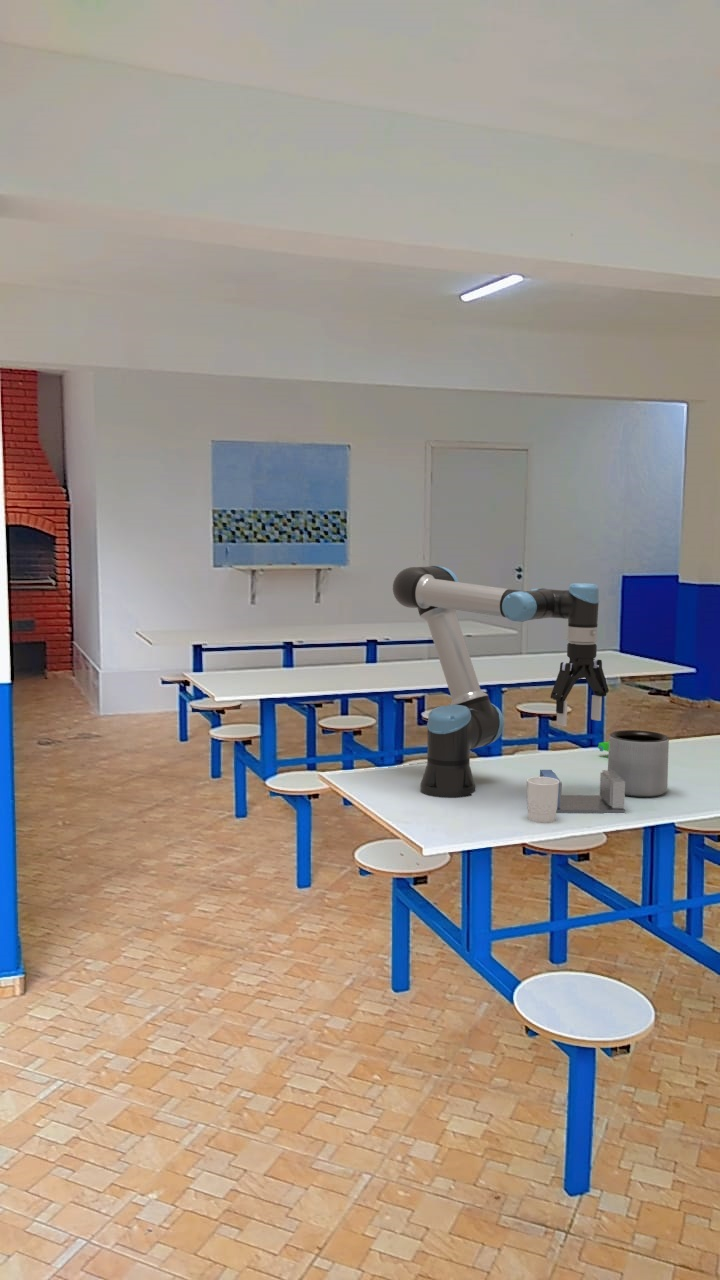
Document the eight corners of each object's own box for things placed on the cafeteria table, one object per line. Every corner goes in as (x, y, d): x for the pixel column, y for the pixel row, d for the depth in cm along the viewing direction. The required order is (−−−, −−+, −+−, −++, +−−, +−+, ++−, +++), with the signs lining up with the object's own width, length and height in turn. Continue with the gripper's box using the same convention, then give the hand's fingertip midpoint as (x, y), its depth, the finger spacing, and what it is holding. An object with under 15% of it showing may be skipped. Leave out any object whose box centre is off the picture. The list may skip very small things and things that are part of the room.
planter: (649, 782, 287) (651, 728, 285) (678, 797, 271) (680, 740, 269) (596, 785, 283) (598, 730, 281) (623, 800, 268) (625, 742, 266)
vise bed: (537, 813, 255) (537, 809, 254) (529, 798, 268) (529, 794, 268) (625, 814, 254) (625, 810, 254) (611, 799, 268) (611, 795, 268)
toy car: (636, 754, 323) (637, 734, 322) (621, 757, 319) (622, 736, 318) (611, 748, 332) (612, 728, 331) (596, 750, 329) (597, 730, 328)
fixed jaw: (609, 808, 255) (610, 781, 254) (599, 796, 267) (600, 770, 266) (624, 808, 255) (625, 781, 254) (612, 796, 267) (613, 770, 266)
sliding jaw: (547, 807, 255) (547, 780, 255) (539, 795, 267) (540, 769, 267) (561, 808, 255) (562, 781, 255) (552, 795, 267) (553, 769, 266)
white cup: (524, 815, 253) (525, 776, 252) (556, 816, 252) (557, 777, 251) (526, 824, 245) (527, 784, 244) (559, 825, 244) (560, 785, 243)
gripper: (560, 647, 252) (557, 730, 254) (624, 641, 267) (620, 719, 270) (538, 644, 258) (535, 725, 260) (601, 638, 273) (598, 715, 275)
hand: (578, 722), depth 265 cm, fingers open, 13 cm apart
